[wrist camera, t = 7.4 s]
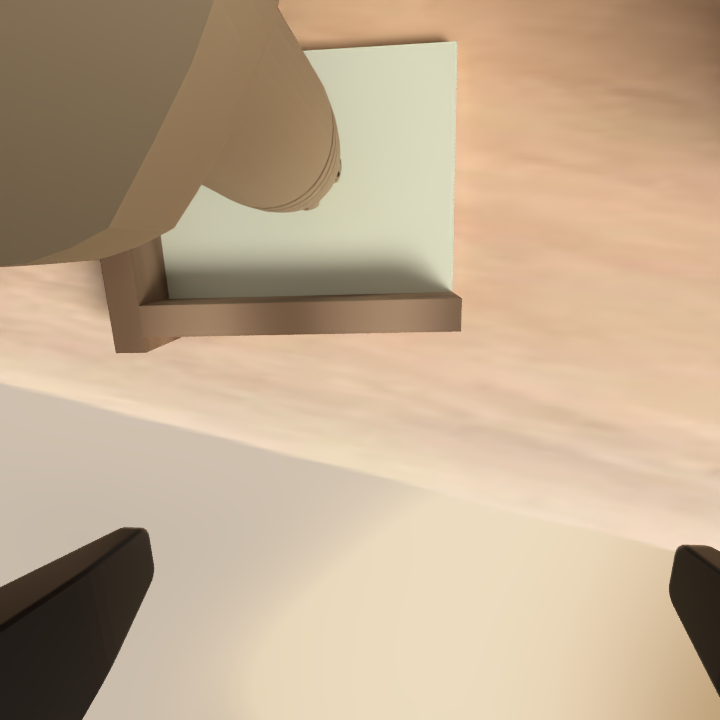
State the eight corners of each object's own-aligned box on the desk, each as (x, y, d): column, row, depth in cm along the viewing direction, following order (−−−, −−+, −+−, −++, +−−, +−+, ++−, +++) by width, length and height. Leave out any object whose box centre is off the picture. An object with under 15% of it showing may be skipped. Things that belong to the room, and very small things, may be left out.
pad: (454, 48, 17) (457, 41, 16) (450, 290, 19) (452, 291, 18) (145, 67, 17) (137, 61, 17) (175, 297, 20) (169, 298, 19)
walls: (455, 29, 16) (469, -18, 13) (449, 332, 19) (460, 347, 16) (113, 51, 17) (58, 11, 14) (155, 337, 20) (115, 353, 17)
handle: (375, 86, 16) (299, -1112, 2) (349, 260, 18) (201, 311, 4) (248, 66, 17) (-727, -1227, 2) (233, 241, 18) (-370, 214, 4)
